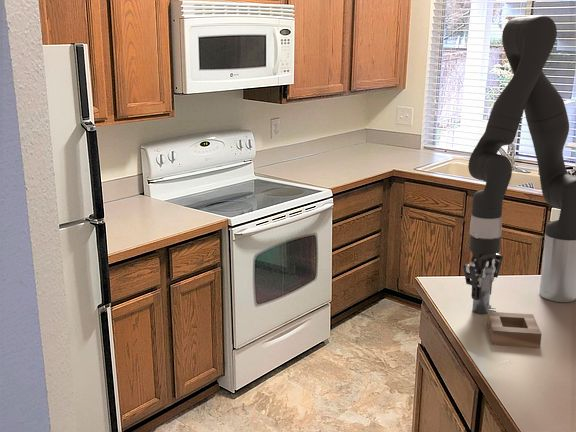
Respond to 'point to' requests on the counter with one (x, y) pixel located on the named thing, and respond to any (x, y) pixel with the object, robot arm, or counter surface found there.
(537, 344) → the socket block
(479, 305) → the pin
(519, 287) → the counter surface
